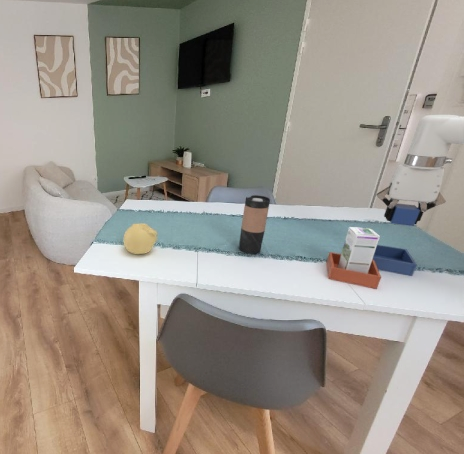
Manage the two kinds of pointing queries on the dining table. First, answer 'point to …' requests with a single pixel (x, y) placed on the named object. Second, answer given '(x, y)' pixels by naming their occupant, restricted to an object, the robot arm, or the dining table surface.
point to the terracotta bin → (352, 273)
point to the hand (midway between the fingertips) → (400, 220)
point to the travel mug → (253, 224)
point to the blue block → (405, 214)
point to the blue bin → (394, 260)
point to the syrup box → (358, 249)
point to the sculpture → (140, 238)
